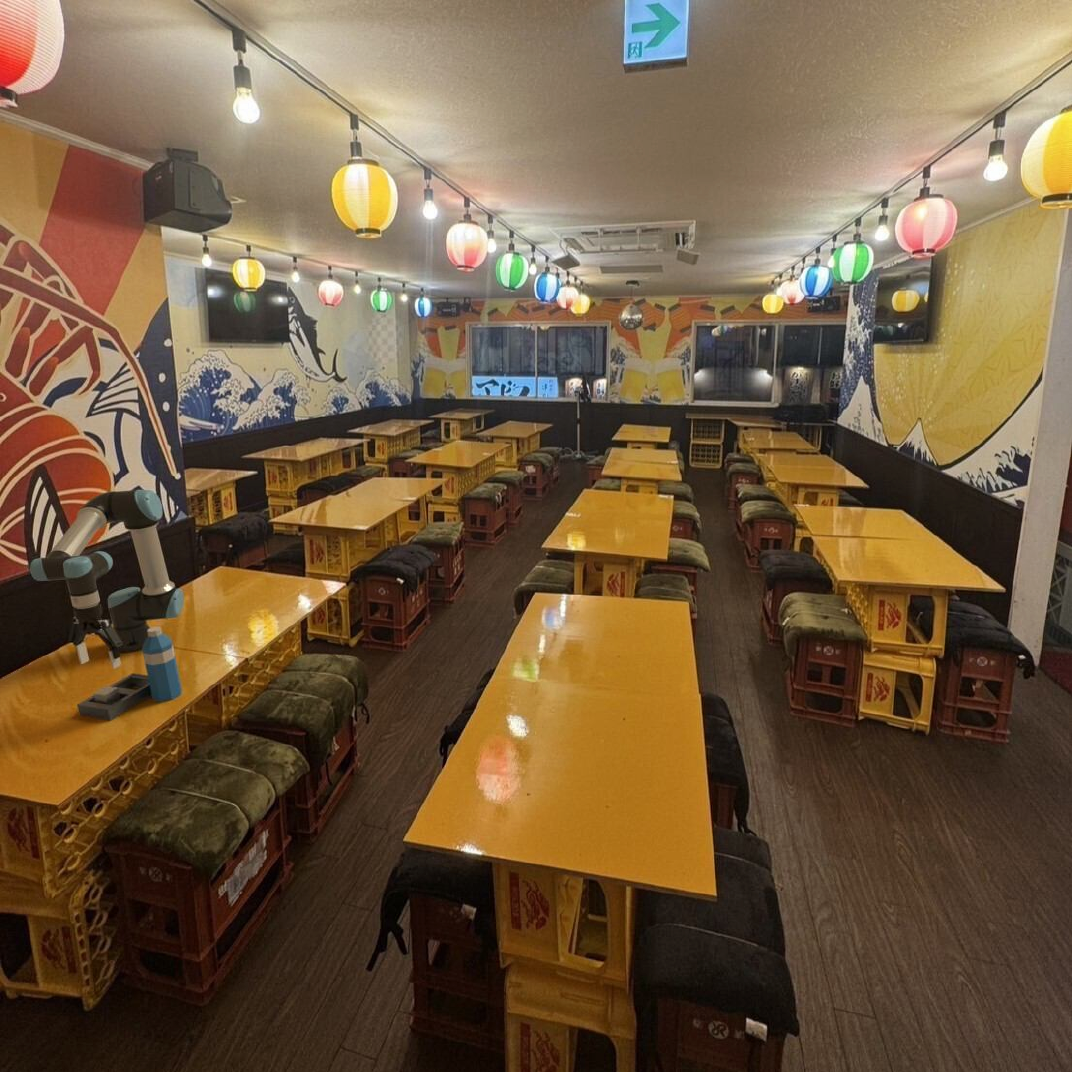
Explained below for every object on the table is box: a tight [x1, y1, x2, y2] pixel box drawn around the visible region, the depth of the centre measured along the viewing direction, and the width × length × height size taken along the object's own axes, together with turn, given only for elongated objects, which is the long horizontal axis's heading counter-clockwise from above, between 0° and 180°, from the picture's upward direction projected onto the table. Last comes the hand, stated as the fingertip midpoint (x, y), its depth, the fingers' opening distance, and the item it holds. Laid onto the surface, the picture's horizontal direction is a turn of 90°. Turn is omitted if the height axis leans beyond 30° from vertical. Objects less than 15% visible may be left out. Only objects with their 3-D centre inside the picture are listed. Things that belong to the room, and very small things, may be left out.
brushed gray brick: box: [93, 685, 121, 705], centre depth 226 cm, size 5×5×7 cm
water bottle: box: [141, 626, 183, 703], centre depth 231 cm, size 9×9×25 cm
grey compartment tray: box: [76, 672, 152, 721], centre depth 231 cm, size 22×13×4 cm, turn 163°
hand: (100, 664), depth 223 cm, fingers open, 13 cm apart
